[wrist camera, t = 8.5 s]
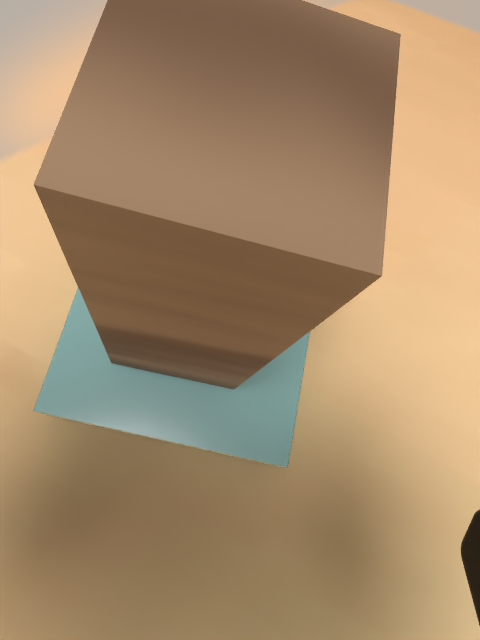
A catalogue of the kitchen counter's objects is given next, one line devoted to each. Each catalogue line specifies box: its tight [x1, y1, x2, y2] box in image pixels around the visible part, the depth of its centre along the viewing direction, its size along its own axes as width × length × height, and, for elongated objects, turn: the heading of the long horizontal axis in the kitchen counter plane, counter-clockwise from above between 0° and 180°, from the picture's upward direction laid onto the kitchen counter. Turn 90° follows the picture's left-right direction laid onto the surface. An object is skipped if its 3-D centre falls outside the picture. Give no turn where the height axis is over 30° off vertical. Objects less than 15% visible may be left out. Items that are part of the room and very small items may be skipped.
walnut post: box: [34, 0, 400, 389], centre depth 12 cm, size 5×5×12 cm
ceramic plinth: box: [34, 288, 310, 467], centre depth 19 cm, size 10×10×2 cm
